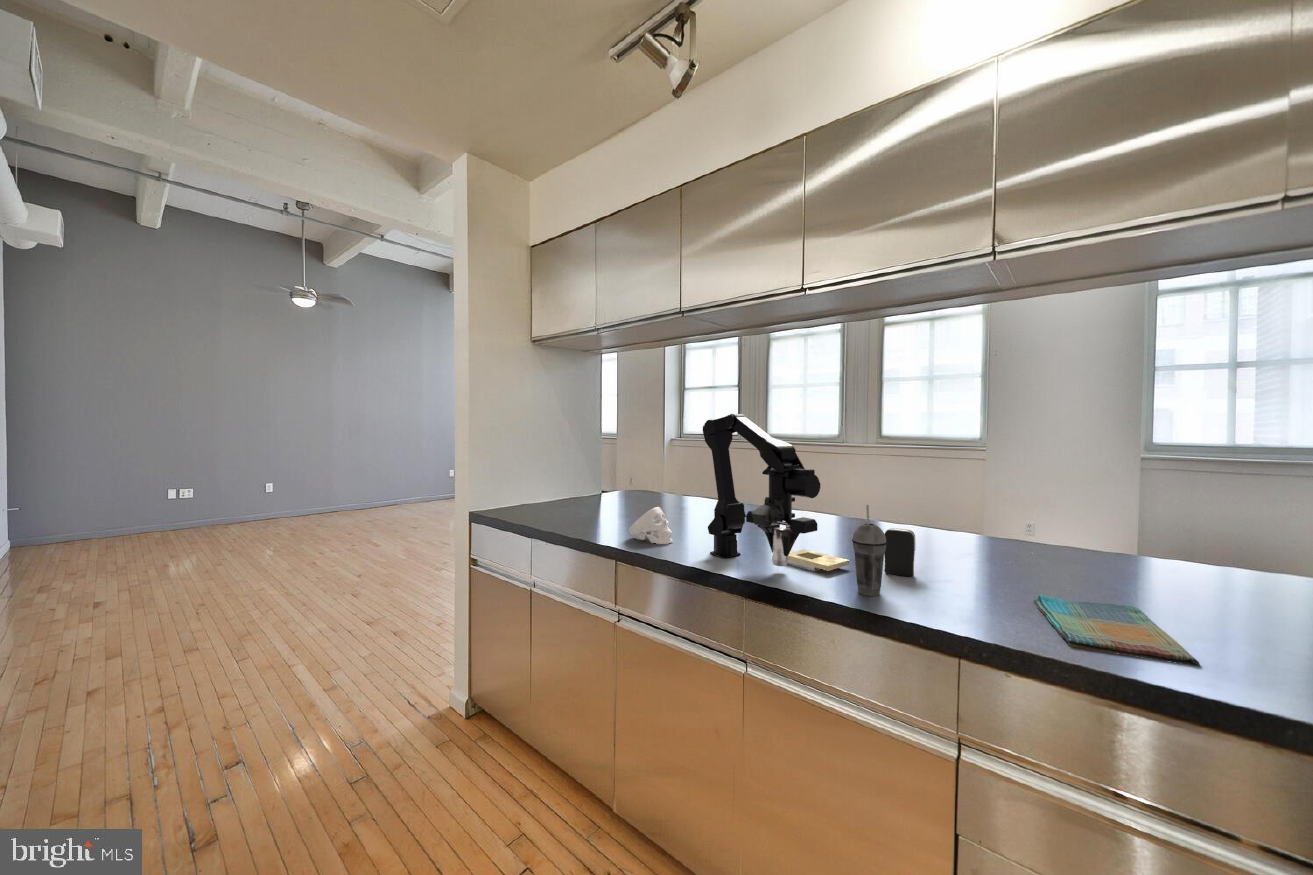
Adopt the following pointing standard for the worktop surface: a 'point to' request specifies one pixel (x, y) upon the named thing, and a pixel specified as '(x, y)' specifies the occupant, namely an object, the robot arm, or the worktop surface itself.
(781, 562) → the pin
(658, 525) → the skull bowl
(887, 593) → the worktop surface
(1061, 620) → the dish towel
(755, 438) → the robot arm
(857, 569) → the beverage cup
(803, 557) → the cream inset tray
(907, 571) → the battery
